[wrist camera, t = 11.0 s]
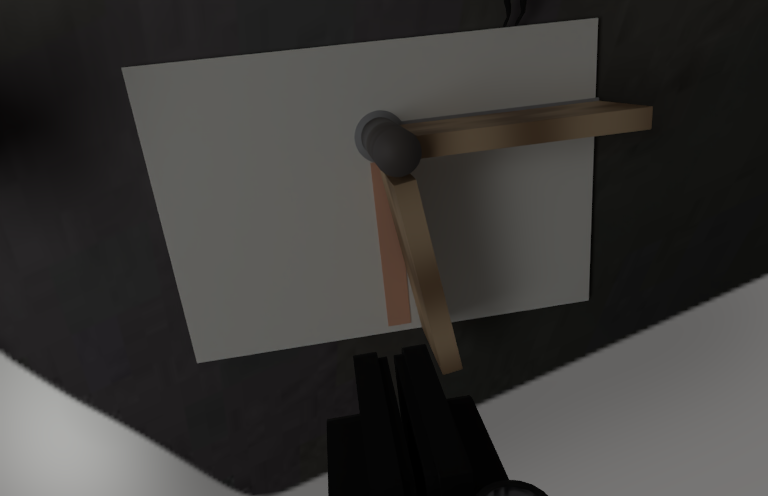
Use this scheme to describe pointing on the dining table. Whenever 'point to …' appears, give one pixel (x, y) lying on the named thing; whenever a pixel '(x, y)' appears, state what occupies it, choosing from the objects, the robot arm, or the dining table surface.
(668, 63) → the dining table surface
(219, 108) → the card
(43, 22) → the dining table surface
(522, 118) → the fence
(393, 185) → the gate panel
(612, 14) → the dining table surface
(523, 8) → the creature
